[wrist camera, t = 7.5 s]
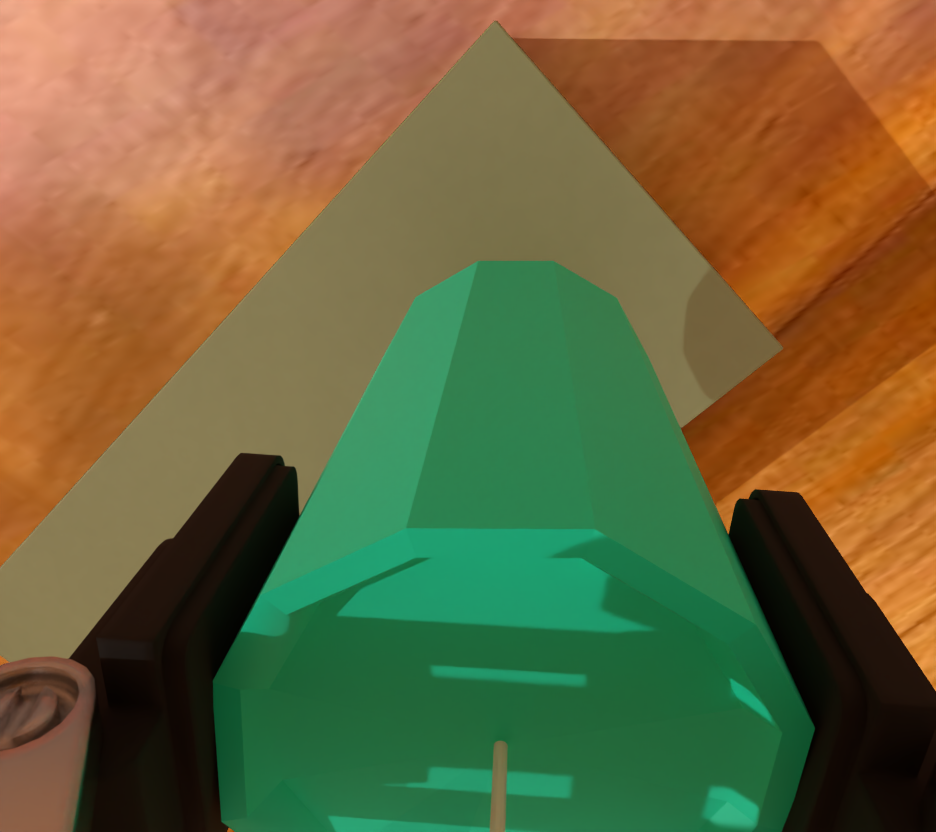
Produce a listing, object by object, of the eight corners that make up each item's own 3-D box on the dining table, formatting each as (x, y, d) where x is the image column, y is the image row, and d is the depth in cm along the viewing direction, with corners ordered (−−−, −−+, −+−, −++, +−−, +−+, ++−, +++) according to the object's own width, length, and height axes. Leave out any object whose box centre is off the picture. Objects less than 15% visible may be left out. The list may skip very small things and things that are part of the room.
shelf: (503, 37, 27) (495, 18, 19) (720, 283, 30) (784, 348, 22) (68, 511, 36) (-50, 621, 28) (266, 664, 39) (205, 800, 31)
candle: (516, 193, 15) (494, 464, 4) (709, 393, 17) (1057, 981, 6) (326, 388, 17) (-20, 913, 6) (512, 553, 19) (493, 1217, 8)
